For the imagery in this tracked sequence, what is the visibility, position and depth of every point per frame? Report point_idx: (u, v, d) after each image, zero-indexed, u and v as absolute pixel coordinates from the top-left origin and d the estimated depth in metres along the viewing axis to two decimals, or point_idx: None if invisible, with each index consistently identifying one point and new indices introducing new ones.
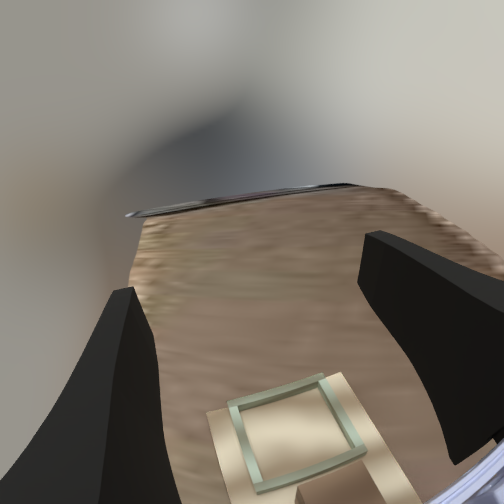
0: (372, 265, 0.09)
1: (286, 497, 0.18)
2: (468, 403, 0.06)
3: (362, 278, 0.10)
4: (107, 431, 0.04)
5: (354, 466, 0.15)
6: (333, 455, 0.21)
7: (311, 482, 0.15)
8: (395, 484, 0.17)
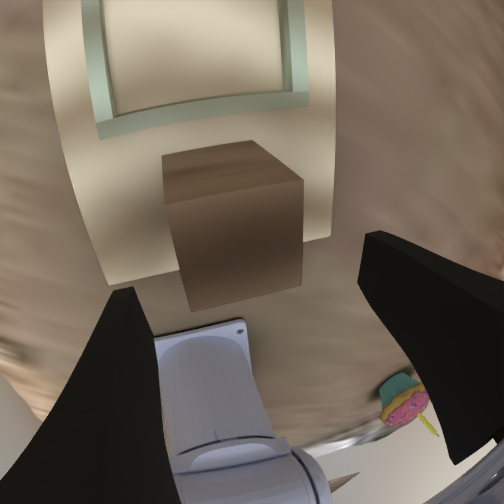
0: (372, 265, 0.09)
1: (150, 144, 0.13)
2: (468, 403, 0.06)
3: (362, 278, 0.10)
4: (107, 431, 0.04)
5: (285, 190, 0.10)
6: (249, 82, 0.13)
7: (193, 203, 0.09)
8: (316, 173, 0.17)
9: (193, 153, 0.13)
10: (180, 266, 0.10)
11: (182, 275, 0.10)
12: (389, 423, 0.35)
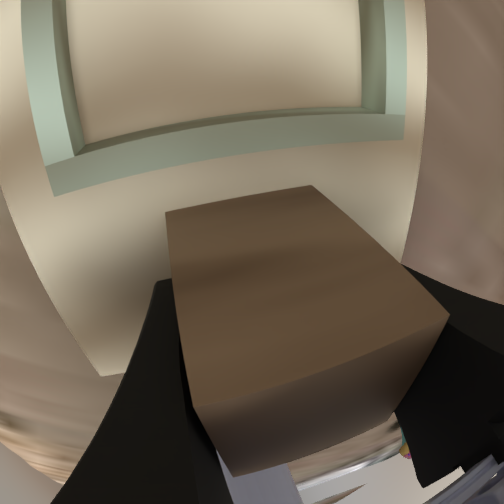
0: None
1: (145, 194, 0.08)
2: (434, 428, 0.05)
3: None
4: (186, 420, 0.04)
5: (421, 336, 0.05)
6: (313, 91, 0.08)
7: (257, 396, 0.04)
8: (388, 229, 0.11)
9: (221, 213, 0.08)
10: (222, 454, 0.05)
11: (224, 459, 0.05)
12: (409, 457, 0.30)
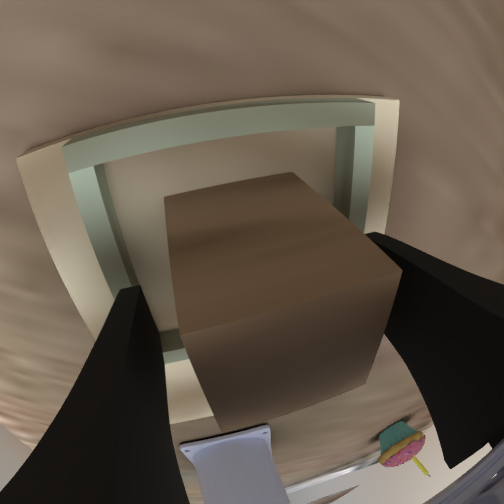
0: None
1: None
2: (463, 407, 0.05)
3: None
4: (119, 430, 0.04)
5: (376, 288, 0.06)
6: None
7: (231, 328, 0.05)
8: None
9: (211, 196, 0.09)
10: (208, 397, 0.06)
11: (211, 405, 0.07)
12: (386, 465, 0.36)
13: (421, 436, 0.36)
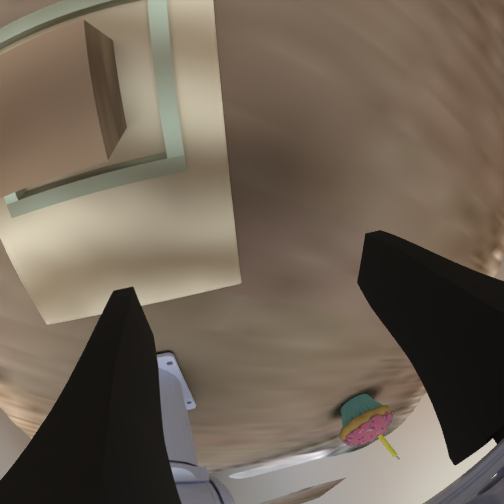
0: (372, 265, 0.09)
1: (55, 214, 0.14)
2: (468, 403, 0.06)
3: (362, 278, 0.10)
4: (107, 431, 0.04)
5: (63, 34, 0.06)
6: (131, 150, 0.14)
7: None
8: (214, 228, 0.17)
9: None
10: None
11: None
12: (348, 443, 0.36)
13: (387, 411, 0.36)
